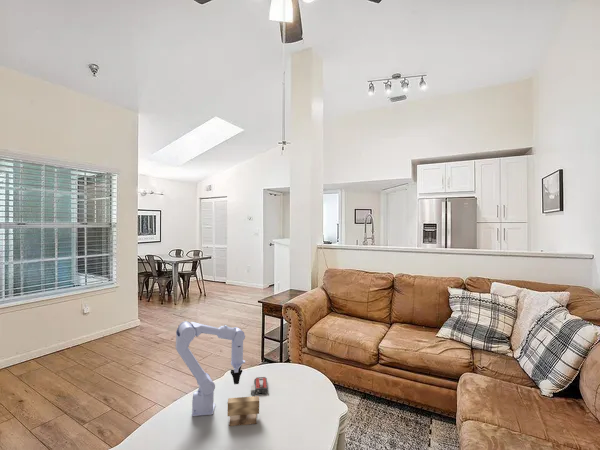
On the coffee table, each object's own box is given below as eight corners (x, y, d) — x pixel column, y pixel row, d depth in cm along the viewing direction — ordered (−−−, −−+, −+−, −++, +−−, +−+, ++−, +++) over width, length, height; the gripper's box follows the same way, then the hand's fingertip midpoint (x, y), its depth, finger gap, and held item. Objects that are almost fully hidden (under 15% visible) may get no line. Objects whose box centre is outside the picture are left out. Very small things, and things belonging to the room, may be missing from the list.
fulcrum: (228, 426, 128) (229, 419, 127) (230, 414, 135) (230, 407, 135) (256, 423, 129) (256, 417, 129) (256, 412, 137) (256, 405, 137)
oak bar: (227, 416, 130) (227, 402, 129) (228, 411, 133) (228, 398, 133) (259, 413, 132) (259, 400, 132) (258, 408, 135) (259, 395, 135)
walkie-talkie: (251, 382, 164) (250, 404, 144) (251, 374, 164) (250, 395, 144) (266, 381, 165) (268, 402, 145) (266, 373, 165) (268, 394, 145)
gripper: (244, 359, 139) (244, 387, 140) (245, 346, 154) (245, 371, 154) (229, 360, 138) (229, 388, 138) (232, 346, 153) (231, 372, 153)
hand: (236, 379), depth 146 cm, fingers open, 7 cm apart
